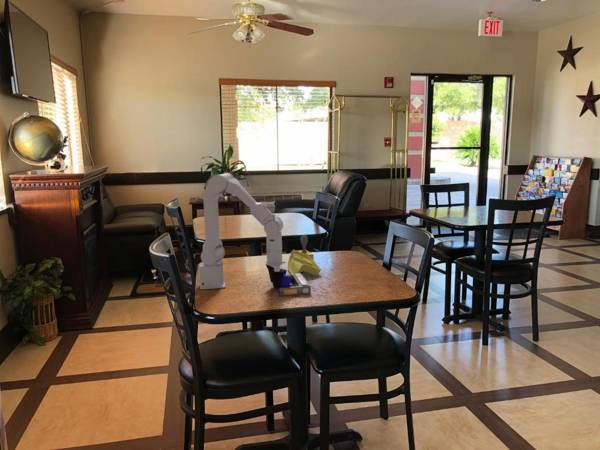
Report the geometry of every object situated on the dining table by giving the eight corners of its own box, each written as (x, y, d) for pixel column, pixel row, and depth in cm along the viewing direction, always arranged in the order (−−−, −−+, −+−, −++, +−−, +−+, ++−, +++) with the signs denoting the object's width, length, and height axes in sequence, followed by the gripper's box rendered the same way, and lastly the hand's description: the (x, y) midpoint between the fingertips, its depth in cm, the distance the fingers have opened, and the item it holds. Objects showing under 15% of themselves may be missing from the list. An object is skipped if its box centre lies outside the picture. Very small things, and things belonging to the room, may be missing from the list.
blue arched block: (291, 293, 178) (295, 277, 177) (279, 291, 177) (283, 275, 176) (286, 284, 190) (289, 270, 189) (274, 282, 189) (278, 267, 188)
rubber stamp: (313, 262, 223) (313, 236, 221) (302, 263, 221) (301, 237, 219) (306, 257, 232) (305, 232, 230) (294, 258, 230) (294, 233, 228)
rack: (280, 296, 175) (279, 287, 174) (273, 283, 191) (273, 274, 191) (310, 294, 177) (310, 285, 176) (301, 281, 193) (301, 272, 193)
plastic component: (322, 270, 200) (301, 262, 197) (314, 286, 201) (293, 278, 197) (309, 256, 218) (290, 248, 215) (302, 270, 219) (283, 263, 216)
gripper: (288, 253, 174) (288, 290, 177) (282, 245, 188) (282, 279, 191) (268, 255, 173) (269, 291, 175) (263, 246, 187) (264, 280, 189)
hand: (275, 285), depth 183 cm, fingers open, 7 cm apart
